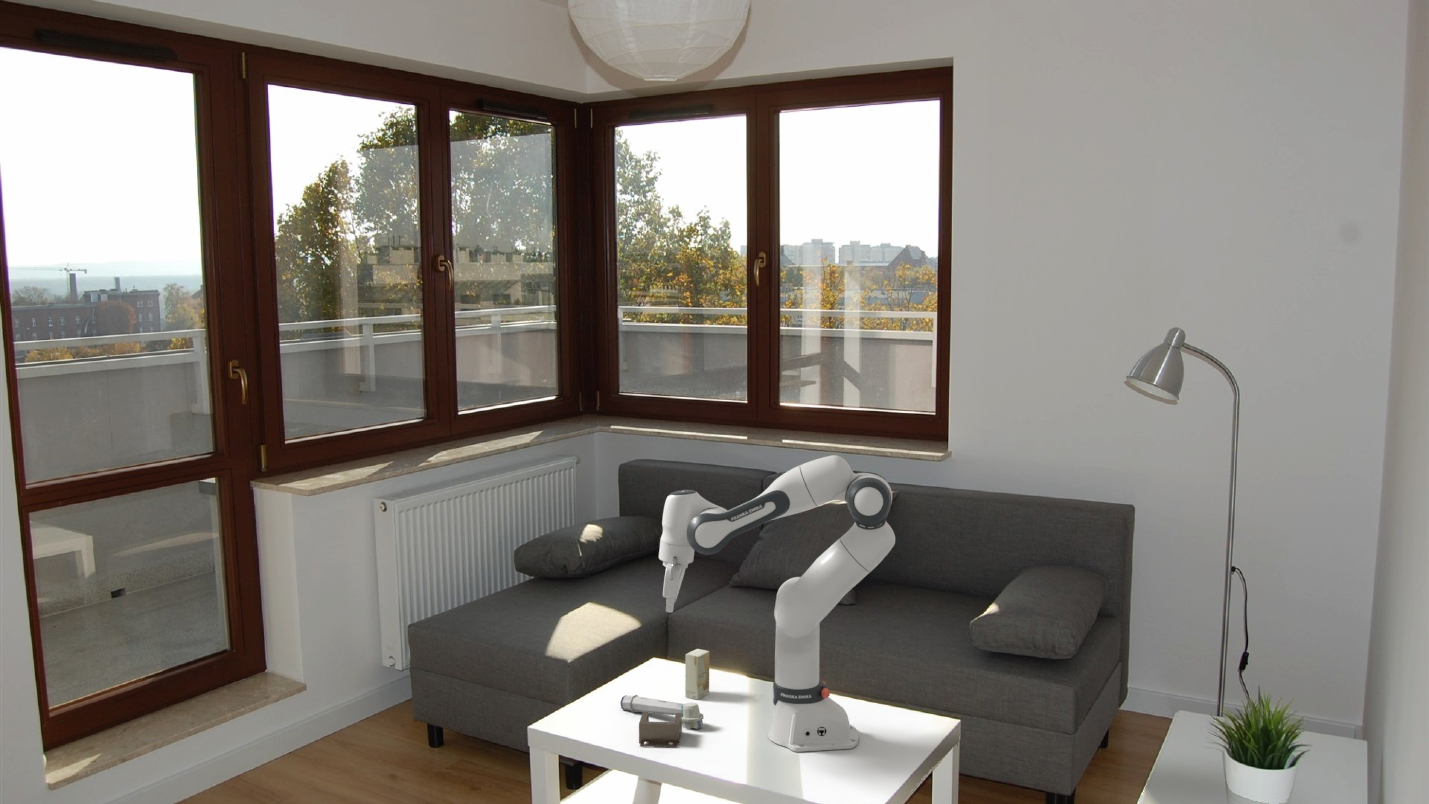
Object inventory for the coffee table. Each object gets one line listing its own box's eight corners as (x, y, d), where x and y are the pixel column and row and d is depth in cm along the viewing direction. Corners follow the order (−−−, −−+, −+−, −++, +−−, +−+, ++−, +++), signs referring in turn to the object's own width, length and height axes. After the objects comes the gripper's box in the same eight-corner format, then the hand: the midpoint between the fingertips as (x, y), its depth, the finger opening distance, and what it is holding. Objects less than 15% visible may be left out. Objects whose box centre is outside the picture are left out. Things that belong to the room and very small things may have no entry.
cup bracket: (682, 732, 272) (681, 713, 272) (678, 747, 263) (678, 727, 263) (642, 731, 273) (642, 712, 273) (638, 746, 264) (637, 727, 263)
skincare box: (697, 700, 294) (697, 657, 293) (684, 697, 296) (684, 654, 295) (710, 693, 300) (710, 650, 298) (697, 690, 302) (697, 647, 301)
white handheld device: (630, 691, 290) (705, 698, 276) (633, 716, 291) (708, 723, 276) (617, 697, 286) (693, 704, 272) (620, 722, 286) (697, 730, 272)
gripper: (685, 564, 261) (680, 619, 262) (691, 545, 281) (686, 597, 282) (660, 561, 261) (654, 616, 262) (667, 543, 281) (662, 594, 282)
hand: (671, 606), depth 272 cm, fingers open, 8 cm apart
